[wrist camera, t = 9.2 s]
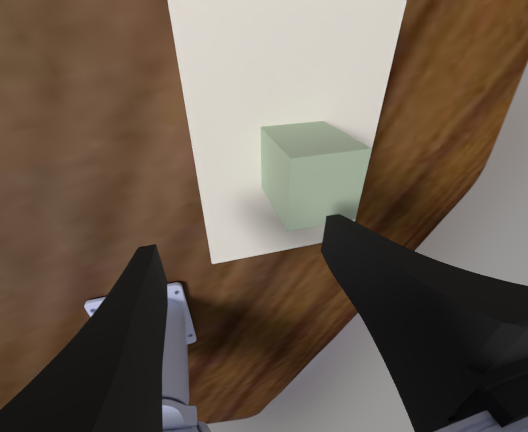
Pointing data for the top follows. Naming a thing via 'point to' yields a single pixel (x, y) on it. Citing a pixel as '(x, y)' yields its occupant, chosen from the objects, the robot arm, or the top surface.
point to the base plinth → (273, 97)
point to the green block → (311, 172)
